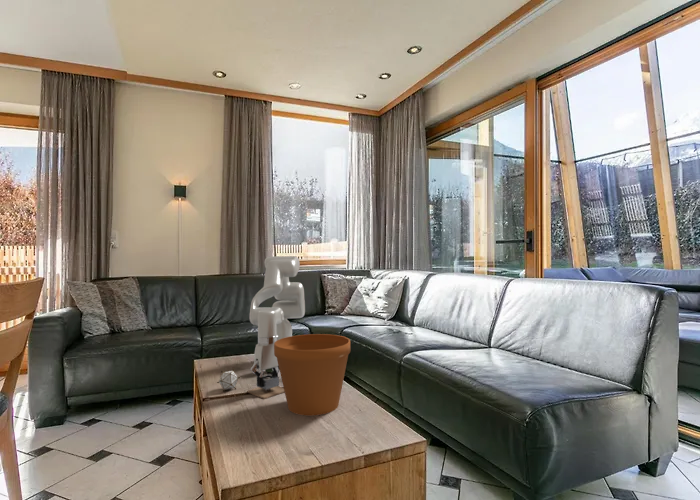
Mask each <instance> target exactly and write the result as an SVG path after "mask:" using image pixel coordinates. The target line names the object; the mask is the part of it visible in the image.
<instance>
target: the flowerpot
mask: <svg viewBox="0 0 700 500" xmlns="http://www.w3.org/2000/svg"><path fill="white" fill-rule="evenodd" d="M351 351H352V350H351V339H350V338H348V337H346V336H342V335H337V334H328V333H326V334H325V333H322V334H321V333H315V334H314V333H313V334H312V333H311V334H308V333H307V334H300V335H298V334H297V335H292V336H291V337H286V338H282V339H279V340H277V341H276V342H275V343H274V355H275V357H277V361H278V366H279V374H280V379H281V381H282V383H281V384H282V386H283V388H284V391H285V393H284V395H285V399H286V403H287V408H288V410H289V411H290V412H291V413H293V414H295V415H300V416H307V417H310V416H321V415H322V416H323V415H325V414H329V413H332V412H334V411H335V410H336V409H338V407H339V404H340V399H341V394H342V387H343V384H344V378H345V375H346V374H345V373H346V368H347V362H348V358H349V354H350V353H351Z"/></svg>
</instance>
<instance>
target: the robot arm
mask: <svg viewBox="0 0 700 500" xmlns="http://www.w3.org/2000/svg"><path fill="white" fill-rule="evenodd" d="M300 263H301V262H300V259H299V257H297V256H294V255H293V256H291V255H289V256H288V255H287V256H284V255H283V256H282V255H279V256H267V257H266V258H265V259H264V268H265V274H264V279H263V280H264V282H263V286H262V288H261V289H260V290H258V292H256V293H255V295H254V296H253V297H252V300H251V303H250V307H249V308H250V309H249V322H250V323H251V324H252V325H253V326H257V344H255V348H254V356H253V365H252V366H251V367H250V371H251V373H253V374H254V375H255V376H256V385H257V384H258V386H259V387H263V377H262V376H264V375H263V374H264V371H265V370H266V369H270V368H272V370H273V372H271V375H274V376H277V377H279V374H280V370H279V366H278V361H277V357H275V355H274V343H275V342H276V341H277V340H279V339H282V338H286V337H291V336H293V327H292V323H291V322H290V321H289V320H288V319H301V318H303V317H304V316H305V313H306V301H305V289H304V288H305V287H304V286H303V284H302V283H301V282H298V281H297V282H296V281H295V282H294V281H293V282H291V281H290V278H294V277H297V275H298V272H299V271H300V266H301V265H300ZM272 297H274V298H275V299H276V300H277V301H275V302H274V303H273V304H272V306H271V307H269V306H268V307H267V306H266V307H264V306H263V307H262V306H261V307H259V306H260V304H262V303H263V302H265V301H266V300H269V299H270V298H272Z"/></svg>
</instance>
